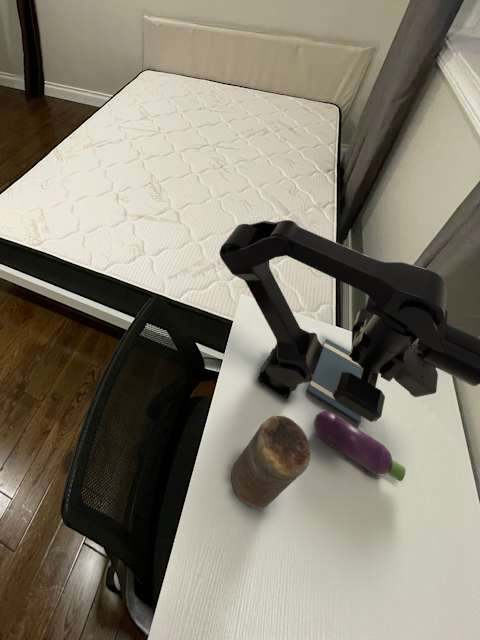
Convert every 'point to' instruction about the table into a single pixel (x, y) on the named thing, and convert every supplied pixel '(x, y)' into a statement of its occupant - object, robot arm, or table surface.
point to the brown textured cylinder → (270, 461)
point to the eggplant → (357, 445)
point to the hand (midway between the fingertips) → (348, 381)
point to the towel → (333, 376)
